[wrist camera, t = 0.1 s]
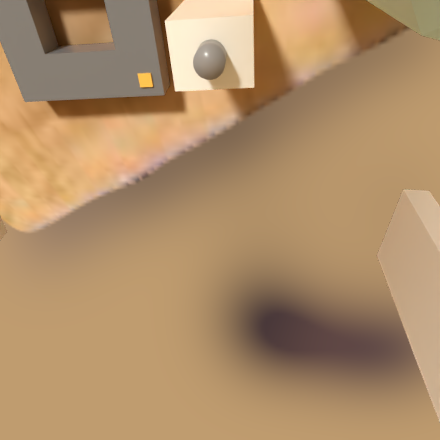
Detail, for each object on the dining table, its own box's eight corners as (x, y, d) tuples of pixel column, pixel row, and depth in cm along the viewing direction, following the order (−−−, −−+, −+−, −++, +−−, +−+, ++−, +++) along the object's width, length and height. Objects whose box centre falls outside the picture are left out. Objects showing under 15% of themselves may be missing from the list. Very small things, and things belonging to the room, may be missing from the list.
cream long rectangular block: (195, -12, 32) (159, 26, 20) (253, -16, 31) (253, 20, 19) (200, 39, 34) (170, 100, 22) (254, 35, 34) (254, 96, 22)
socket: (-27, -82, 30) (-52, -83, 27) (141, -99, 28) (130, -102, 26) (38, 91, 38) (23, 102, 36) (169, 84, 37) (163, 95, 35)
